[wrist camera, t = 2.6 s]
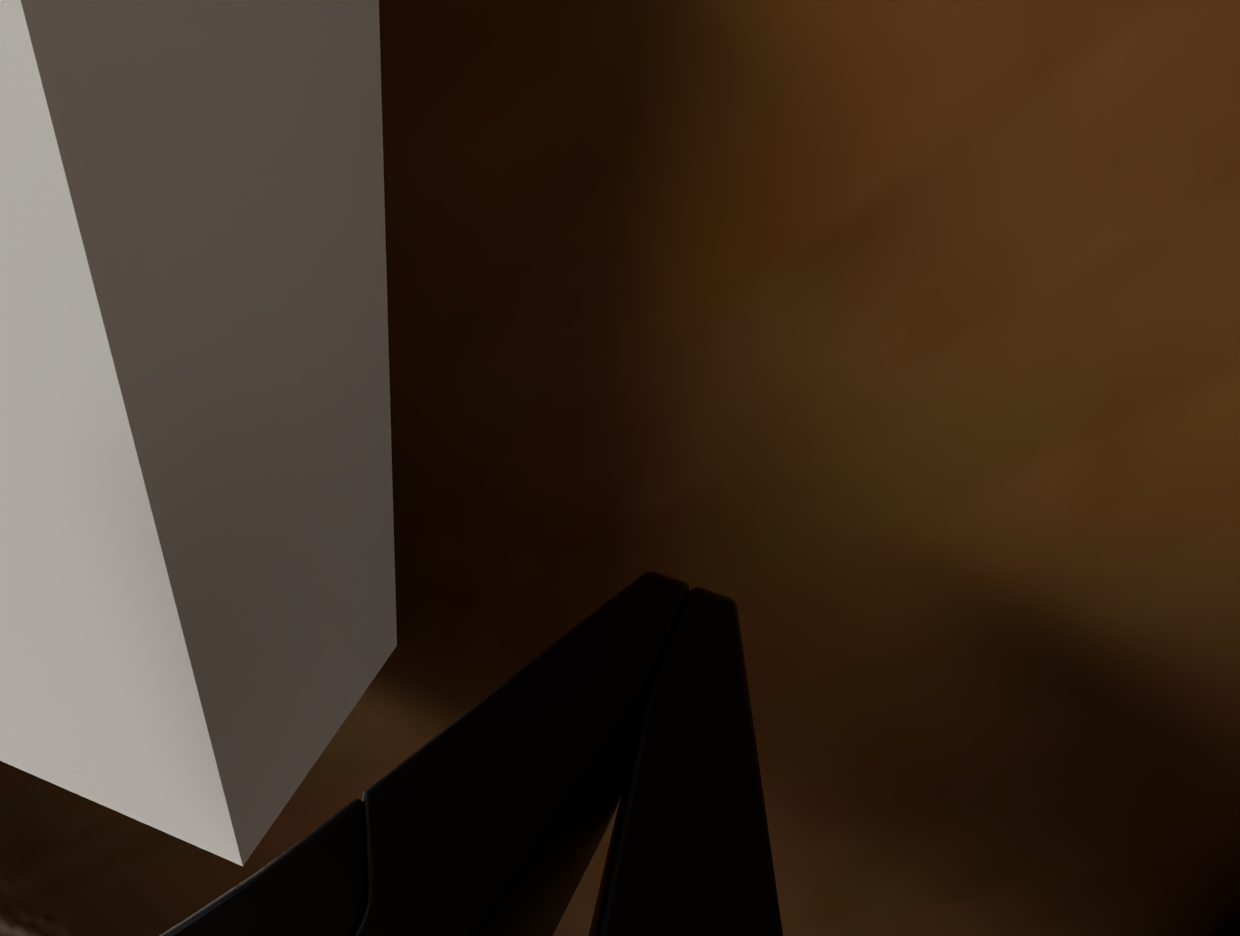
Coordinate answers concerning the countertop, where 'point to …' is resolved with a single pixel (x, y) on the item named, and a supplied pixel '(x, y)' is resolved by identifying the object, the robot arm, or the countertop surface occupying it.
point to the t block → (191, 400)
